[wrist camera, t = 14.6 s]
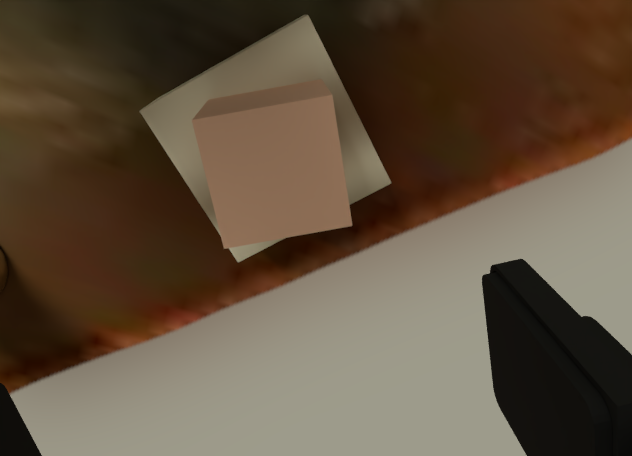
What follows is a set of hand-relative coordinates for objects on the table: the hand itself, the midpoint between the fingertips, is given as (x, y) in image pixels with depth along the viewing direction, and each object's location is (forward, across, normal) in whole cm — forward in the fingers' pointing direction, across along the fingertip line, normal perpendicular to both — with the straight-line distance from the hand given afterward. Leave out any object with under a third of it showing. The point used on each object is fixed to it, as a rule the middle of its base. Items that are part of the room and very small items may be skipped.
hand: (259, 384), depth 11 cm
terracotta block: (+21, 0, 0) cm, 21 cm away
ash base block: (+26, 0, 0) cm, 26 cm away
